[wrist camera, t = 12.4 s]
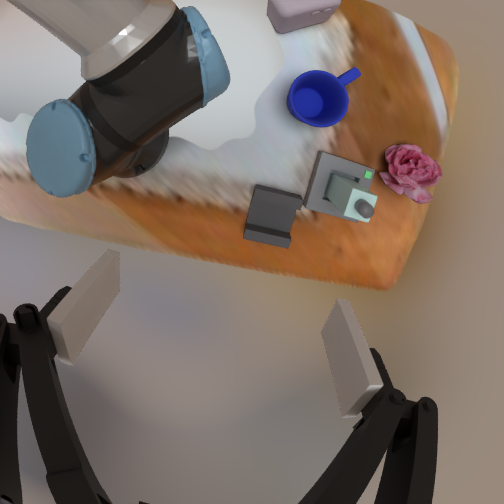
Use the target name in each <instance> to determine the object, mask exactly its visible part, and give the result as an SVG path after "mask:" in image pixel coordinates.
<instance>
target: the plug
mask: <svg viewBox="0 0 504 504" xmlns="http://www.w3.org/2000/svg"><path fill="white" fill-rule="evenodd" d="M324 194H325V195H326V196H327V197H328V198H329V200H330V201H331V202H332V203H333V204H334V205H335V206H336V207H337V208H338V210H339V211H340V212H341V213H342V214H343V215H344V216H347V217H351V218H354V219H358V220H361V221H364V222H369V220H370V217H372V215H373V214H374V206H375V203H376V200H377V197H378V196H376V195H375V194H373V193H372V192H370V191H369V190H367V189H366V188H364V187H363V186H361V185H360V184H358V183H357V182H355V181H354V180H352V179H350V178H347V177H344V176H341V175H338V174H334V173H330V176H329V180H328V183H327V186H326V189H325V192H324Z"/></svg>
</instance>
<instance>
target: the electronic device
mask: <svg viewBox="0 0 504 504" xmlns="http://www.w3.org/2000/svg"><path fill="white" fill-rule="evenodd" d="M340 4H341V0H268V7H267V16H268V18H269V19H270V21H271V23H272V24H273V26H274V28H275V29H276V31H278V32H280V33H287V32H290V31H293V30H296V29H299V28H303V27H306V26H310V25H314V24H318V23H321V22H325V21H327V20H328V19H329V18H330V17H331V15H332V14H333V13H334V12H335V10H336V9H337V8H338V7H339V5H340Z"/></svg>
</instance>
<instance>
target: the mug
mask: <svg viewBox="0 0 504 504" xmlns="http://www.w3.org/2000/svg"><path fill="white" fill-rule="evenodd" d="M360 75H361V73H360V71H359V70H358V69H357V68H355V67H354V68H352V69H350V70H349V71H347V72H345V73H343V74H342V75H340V76H339V77H335V76H334V75H332V74H330V73H328V72H325V71H320V70H313V71H308V72H305V73H303V74H301V75H300V76H298V77H297V78H296V79H295V80H294V82H293V83H292V85H291V88H290V91H289V94H288V97H287V106H288V109H289V111H290V113H291V114H292V115H293V116H294V117H295V118H296V119H298V120H299V121H302V122H304V123H306V124H308V125H311V126H314V127H328V126H332V125H334V124H336V123H337V122H339V121H340V120H341V119H342V118H343V117H344V115H345V113H346V111H347V109H348V103H349V99H348V94H347V91H346V88H345V87H344V86H345V85H347V84H349V83H350V82H352V81H353V80H355V79H356V78H358V77H359V76H360Z"/></svg>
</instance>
